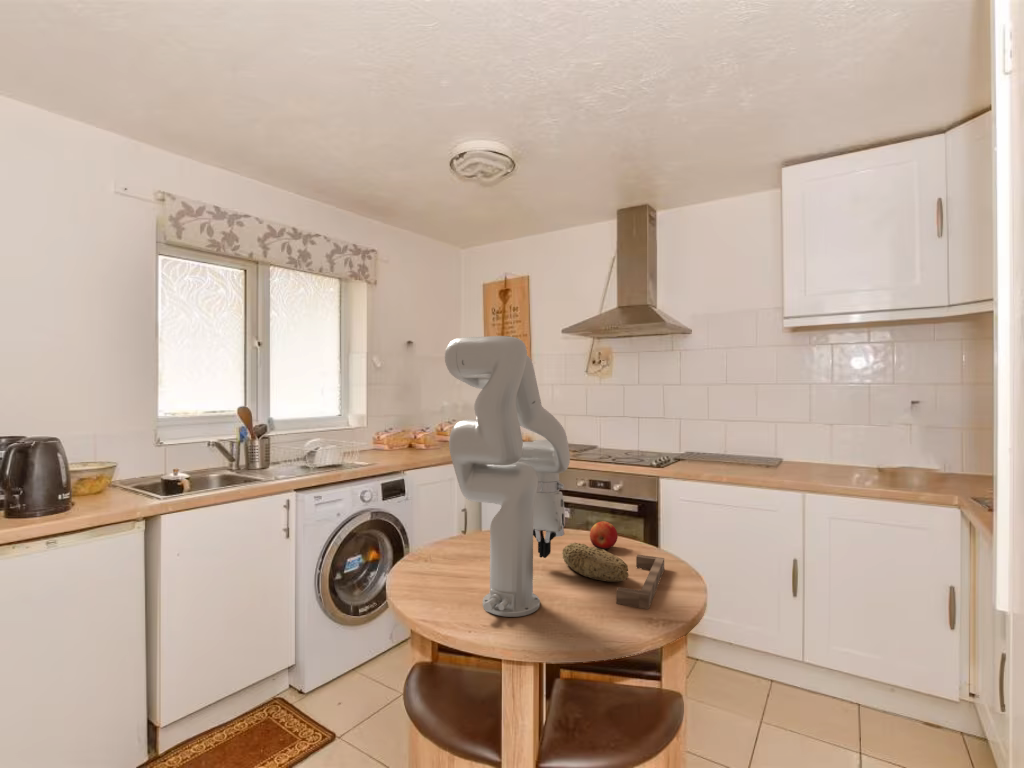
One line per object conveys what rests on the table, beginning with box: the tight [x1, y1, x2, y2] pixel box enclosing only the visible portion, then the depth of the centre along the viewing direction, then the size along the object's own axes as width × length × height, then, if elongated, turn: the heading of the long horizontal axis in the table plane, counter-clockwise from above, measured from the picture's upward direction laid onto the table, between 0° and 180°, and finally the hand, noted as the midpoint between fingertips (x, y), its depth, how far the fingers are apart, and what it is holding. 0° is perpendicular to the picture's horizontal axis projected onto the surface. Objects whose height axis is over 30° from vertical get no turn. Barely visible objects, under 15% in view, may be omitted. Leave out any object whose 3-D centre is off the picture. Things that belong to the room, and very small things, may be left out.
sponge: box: [561, 542, 629, 583], centre depth 131 cm, size 13×8×20 cm
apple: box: [589, 520, 619, 550], centre depth 152 cm, size 8×8×8 cm
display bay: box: [615, 554, 665, 610], centre depth 124 cm, size 27×7×3 cm, turn 156°
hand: (544, 556), depth 134 cm, fingers closed
